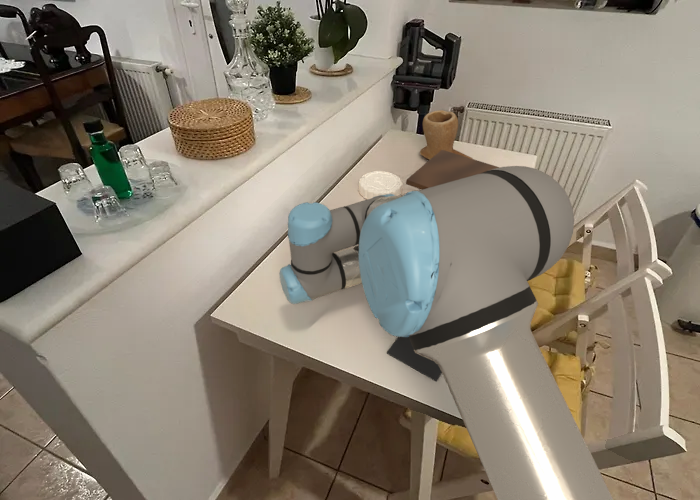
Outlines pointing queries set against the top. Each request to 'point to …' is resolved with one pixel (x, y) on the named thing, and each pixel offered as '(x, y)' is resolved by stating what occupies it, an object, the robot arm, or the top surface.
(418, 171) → the side table
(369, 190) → the mooncake
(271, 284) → the top surface
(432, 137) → the stone cup
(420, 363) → the rubber mat
